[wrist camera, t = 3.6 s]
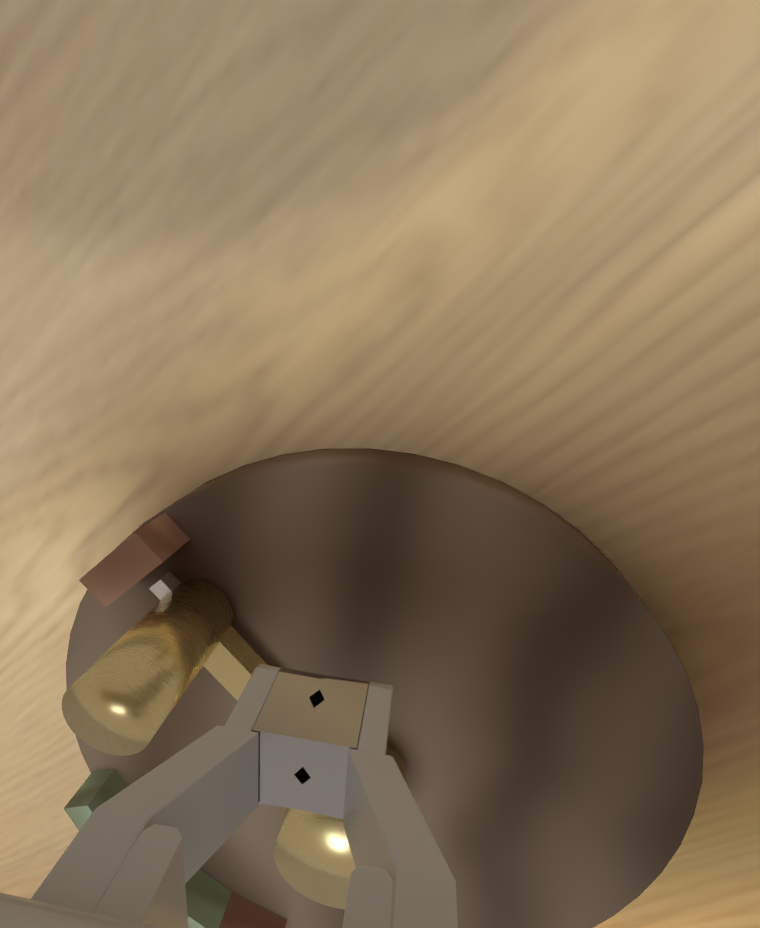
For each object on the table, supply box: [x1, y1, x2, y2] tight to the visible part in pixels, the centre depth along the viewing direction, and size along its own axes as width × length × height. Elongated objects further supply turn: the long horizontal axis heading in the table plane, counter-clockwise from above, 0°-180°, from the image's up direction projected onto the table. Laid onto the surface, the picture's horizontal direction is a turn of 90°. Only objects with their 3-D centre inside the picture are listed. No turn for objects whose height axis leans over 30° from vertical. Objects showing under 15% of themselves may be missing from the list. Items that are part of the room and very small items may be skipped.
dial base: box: [64, 449, 703, 928], centre depth 17 cm, size 24×24×4 cm
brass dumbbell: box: [62, 571, 408, 909], centre depth 13 cm, size 12×4×4 cm, turn 39°
